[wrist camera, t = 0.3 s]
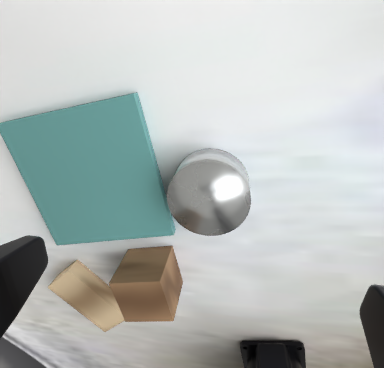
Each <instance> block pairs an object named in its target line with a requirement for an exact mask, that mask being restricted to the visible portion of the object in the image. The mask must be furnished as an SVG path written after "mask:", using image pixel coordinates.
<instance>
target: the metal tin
mask: <svg viewBox="0 0 384 368" xmlns="http://www.w3.org/2000/svg"><path fill="white" fill-rule="evenodd" d="M167 203H168V207H169V210H170V212H171V214H172V215H173V217H174V218H175V219H176V221H177V222H178V223H179V224H180V225H182V226H183V227H184V228H186V229H188V230H189V231H192V232H194V233H197V234H200V235H207V236H216V235H222V234H225V233H228V232H230V231H232V230H234V229H236V228H237V227H238V226H239V225H240V224H242V222H243V221H244V220H245V218H246V217H247V215H248V213H249V210H250V205H251V196H250V186H249V178H248V174H247V171H246V169H245V167H244V166H243V164H242V163H241V162H240V161H239V160H238V159H237V158H236V157H235V156H233V155H232V154H230V153H228V152H226V151H223V150H219V149H203V150H199V151H196V152H194V153H192V154H190V155H189V156H187V157H186V158H185V159H184V160H183V161H182V162H181V164H180V165H179V167H178V169H177V171H176V172H175V174H174V176H173V178H172V180H171V181H170V184H169V186H168V190H167Z"/></svg>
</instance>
